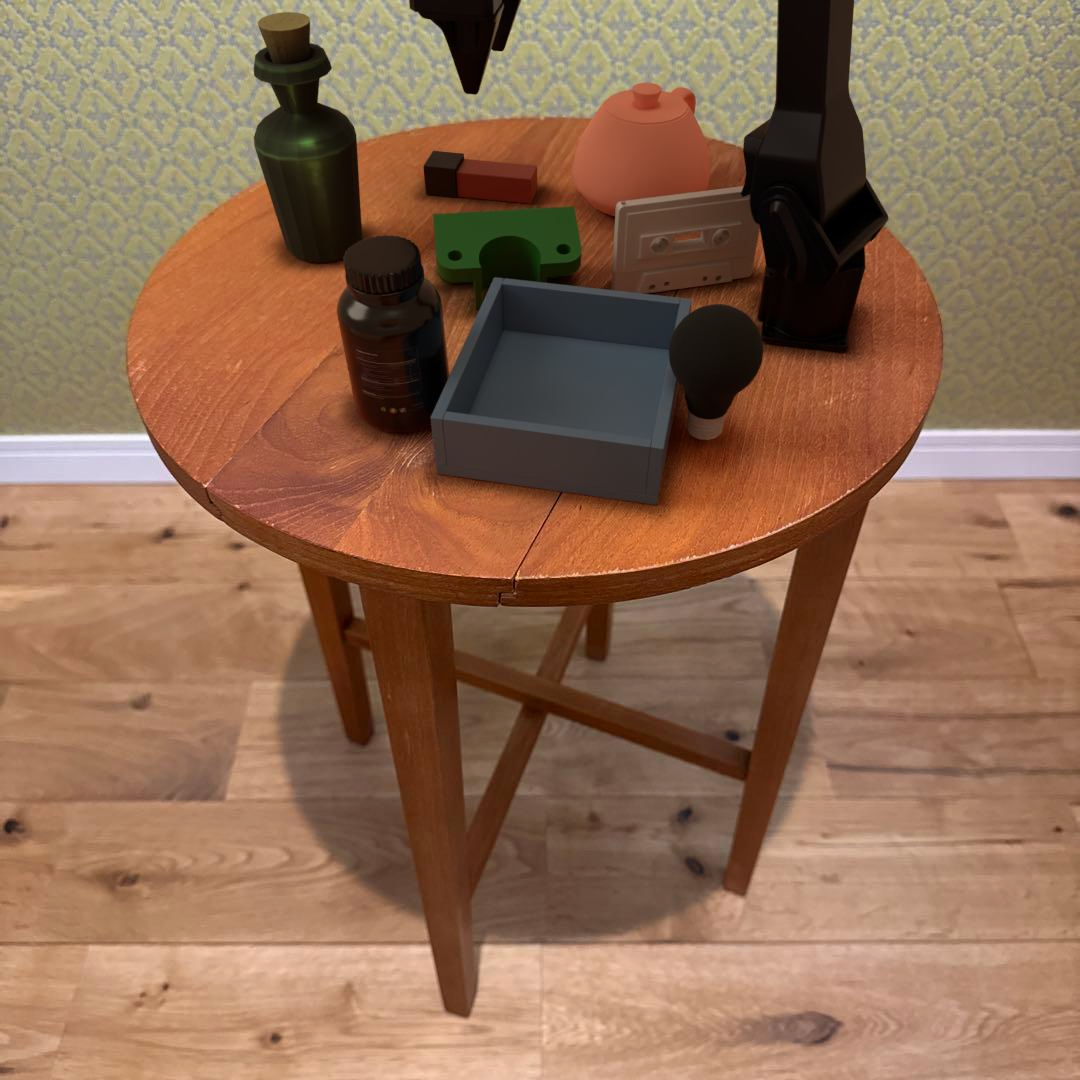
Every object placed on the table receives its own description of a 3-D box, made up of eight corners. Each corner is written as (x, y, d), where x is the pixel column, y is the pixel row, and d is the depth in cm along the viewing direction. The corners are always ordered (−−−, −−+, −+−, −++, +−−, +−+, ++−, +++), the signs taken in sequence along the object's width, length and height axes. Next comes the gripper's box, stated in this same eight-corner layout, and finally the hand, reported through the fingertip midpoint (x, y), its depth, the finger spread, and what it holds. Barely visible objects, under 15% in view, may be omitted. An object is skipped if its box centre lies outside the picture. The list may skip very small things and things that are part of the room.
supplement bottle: (363, 375, 71) (337, 224, 62) (456, 376, 71) (443, 225, 62) (347, 435, 66) (317, 282, 58) (446, 437, 66) (431, 283, 58)
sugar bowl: (545, 204, 89) (544, 90, 81) (636, 152, 96) (643, 42, 89) (653, 249, 83) (664, 130, 76) (741, 189, 91) (759, 76, 83)
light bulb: (686, 476, 64) (704, 349, 56) (644, 423, 67) (656, 298, 60) (762, 452, 65) (789, 326, 58) (717, 402, 69) (737, 277, 62)
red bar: (537, 189, 91) (537, 160, 89) (530, 205, 89) (530, 175, 87) (435, 179, 92) (432, 150, 90) (425, 194, 90) (423, 165, 88)
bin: (685, 354, 73) (692, 298, 69) (657, 505, 62) (663, 448, 58) (496, 331, 75) (494, 276, 71) (436, 474, 64) (430, 417, 60)
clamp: (468, 348, 81) (416, 278, 73) (463, 294, 84) (412, 222, 76) (603, 299, 77) (563, 221, 70) (593, 245, 80) (554, 165, 73)
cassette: (746, 268, 81) (760, 180, 76) (754, 279, 80) (770, 191, 74) (608, 287, 79) (613, 198, 74) (615, 299, 78) (620, 210, 72)
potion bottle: (344, 276, 80) (305, 47, 67) (259, 259, 82) (204, 33, 69) (388, 230, 86) (359, 9, 73) (307, 214, 88) (264, -3, 75)
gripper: (405, -189, 76) (423, 24, 88) (322, -130, 64) (355, 109, 75) (544, -183, 75) (543, 33, 86) (486, -122, 62) (495, 122, 73)
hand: (485, 71), depth 80 cm, fingers open, 9 cm apart
